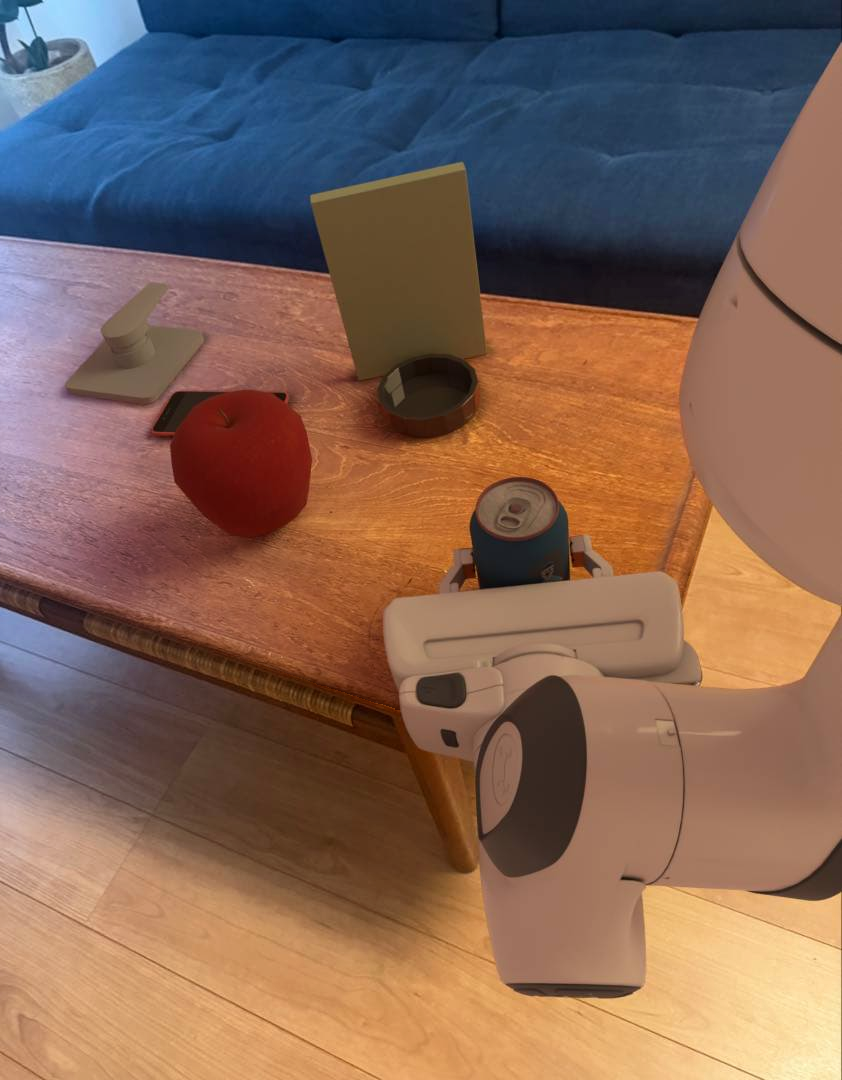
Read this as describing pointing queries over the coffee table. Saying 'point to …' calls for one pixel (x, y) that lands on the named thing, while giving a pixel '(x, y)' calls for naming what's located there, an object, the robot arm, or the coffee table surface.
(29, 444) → the coffee table surface
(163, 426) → the smartphone
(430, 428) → the holder
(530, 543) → the soda can
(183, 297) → the coffee table surface
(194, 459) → the apple
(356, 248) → the olive green plank
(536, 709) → the robot arm
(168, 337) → the shower valve
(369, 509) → the coffee table surface
